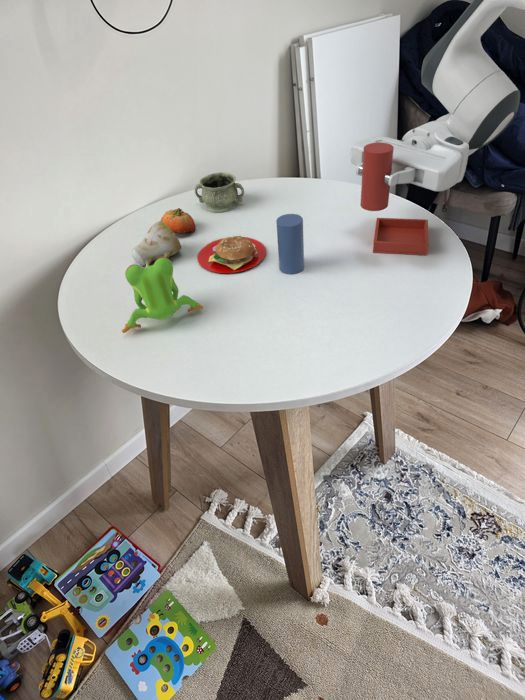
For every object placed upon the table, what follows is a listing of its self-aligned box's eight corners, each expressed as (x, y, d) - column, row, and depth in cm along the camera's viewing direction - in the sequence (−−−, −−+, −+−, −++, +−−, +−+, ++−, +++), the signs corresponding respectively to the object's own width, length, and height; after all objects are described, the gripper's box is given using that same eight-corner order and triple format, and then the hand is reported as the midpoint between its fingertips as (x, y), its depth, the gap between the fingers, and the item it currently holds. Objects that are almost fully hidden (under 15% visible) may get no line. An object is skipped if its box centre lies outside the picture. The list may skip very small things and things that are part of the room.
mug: (125, 263, 101) (131, 214, 98) (170, 268, 106) (177, 222, 103) (135, 271, 95) (142, 218, 92) (182, 276, 100) (190, 227, 97)
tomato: (193, 233, 104) (168, 208, 102) (173, 253, 108) (148, 229, 106) (203, 221, 111) (179, 197, 109) (184, 240, 114) (161, 217, 112)
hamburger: (279, 247, 100) (277, 220, 96) (239, 281, 92) (236, 254, 88) (224, 232, 107) (221, 207, 103) (183, 263, 98) (178, 237, 94)
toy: (193, 291, 91) (183, 244, 84) (207, 318, 85) (197, 268, 78) (116, 314, 88) (100, 266, 81) (125, 343, 81) (108, 294, 75)
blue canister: (306, 261, 96) (305, 214, 89) (301, 275, 92) (300, 226, 85) (282, 260, 97) (279, 213, 90) (277, 273, 93) (273, 225, 87)
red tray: (426, 229, 101) (427, 219, 99) (426, 255, 94) (428, 244, 92) (376, 227, 103) (376, 217, 102) (372, 252, 96) (373, 242, 94)
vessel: (248, 196, 119) (246, 171, 115) (242, 213, 113) (239, 187, 109) (201, 197, 121) (197, 172, 117) (192, 213, 115) (187, 188, 111)
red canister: (393, 203, 86) (399, 145, 80) (378, 213, 84) (382, 155, 77) (370, 196, 89) (374, 140, 82) (354, 206, 86) (357, 149, 80)
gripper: (380, 122, 92) (329, 143, 86) (478, 146, 80) (426, 173, 74) (378, 155, 97) (328, 178, 91) (470, 183, 84) (420, 211, 78)
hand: (373, 176), depth 82 cm, fingers closed on red canister, 5 cm apart
